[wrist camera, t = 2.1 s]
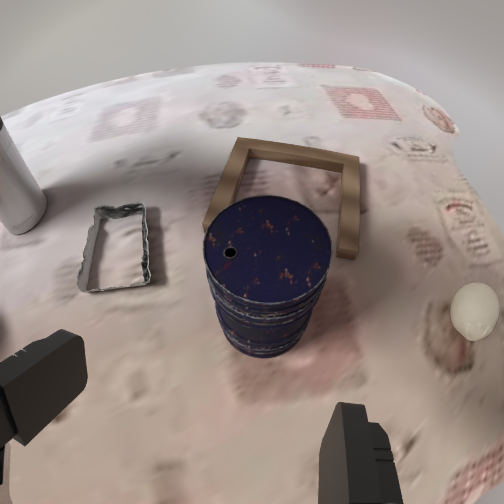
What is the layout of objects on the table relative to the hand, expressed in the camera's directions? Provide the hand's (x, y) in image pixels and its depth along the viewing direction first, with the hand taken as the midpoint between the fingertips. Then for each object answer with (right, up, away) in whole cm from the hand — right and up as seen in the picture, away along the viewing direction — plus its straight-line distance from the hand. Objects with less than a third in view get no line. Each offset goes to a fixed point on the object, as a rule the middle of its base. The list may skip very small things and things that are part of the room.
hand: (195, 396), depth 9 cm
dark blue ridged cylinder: (+3, -3, +28) cm, 28 cm away
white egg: (+29, -5, +27) cm, 40 cm away
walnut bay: (+7, +13, +38) cm, 41 cm away
